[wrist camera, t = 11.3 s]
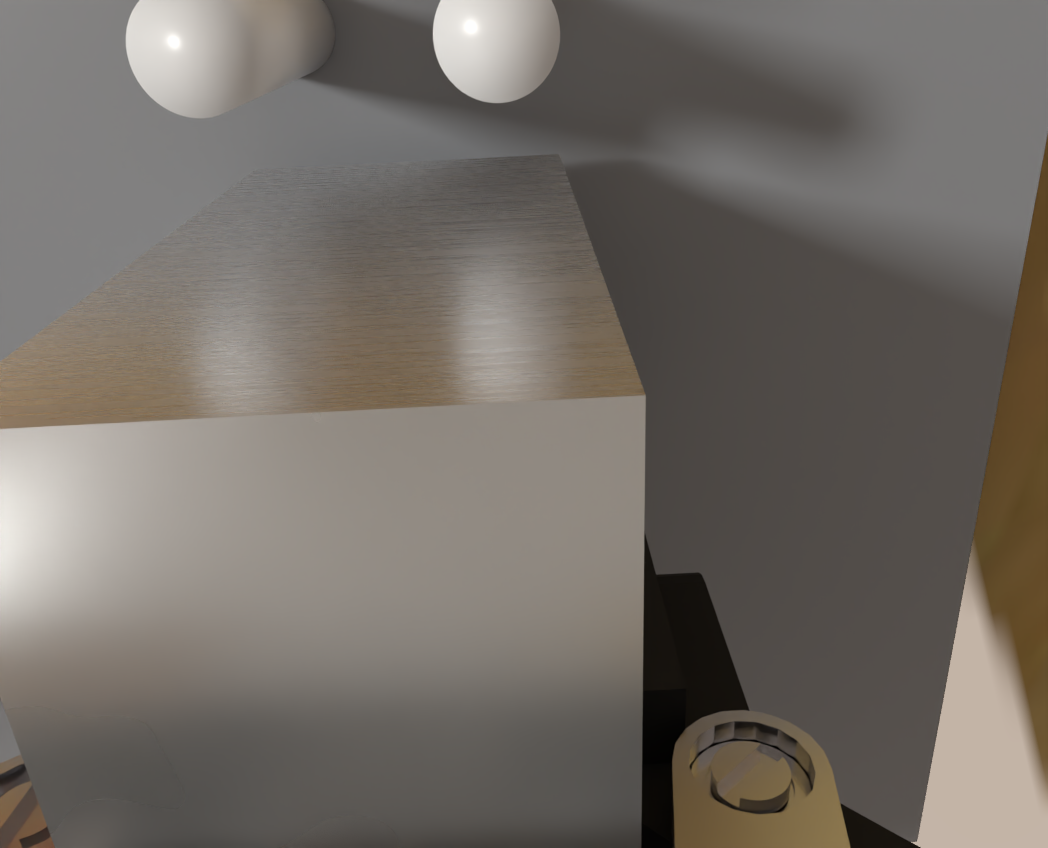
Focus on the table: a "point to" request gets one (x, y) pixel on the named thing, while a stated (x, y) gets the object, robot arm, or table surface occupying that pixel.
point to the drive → (333, 526)
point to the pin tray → (643, 264)
